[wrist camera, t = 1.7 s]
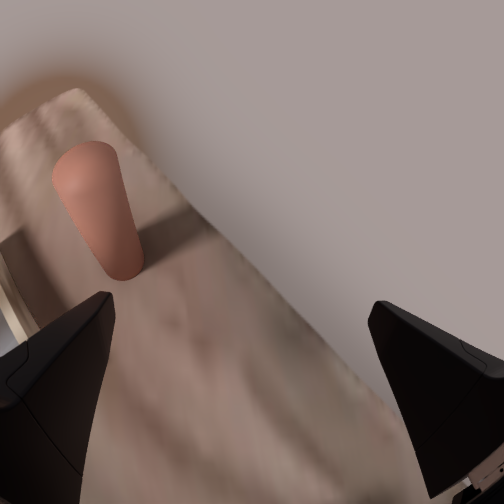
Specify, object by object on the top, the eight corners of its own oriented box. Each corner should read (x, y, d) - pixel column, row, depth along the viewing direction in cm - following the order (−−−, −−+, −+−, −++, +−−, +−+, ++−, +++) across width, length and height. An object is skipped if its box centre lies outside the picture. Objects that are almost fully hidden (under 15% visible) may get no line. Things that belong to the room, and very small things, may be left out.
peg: (96, 272, 23) (39, 187, 12) (113, 235, 24) (75, 137, 14) (135, 286, 23) (95, 203, 12) (150, 246, 25) (129, 147, 14)
